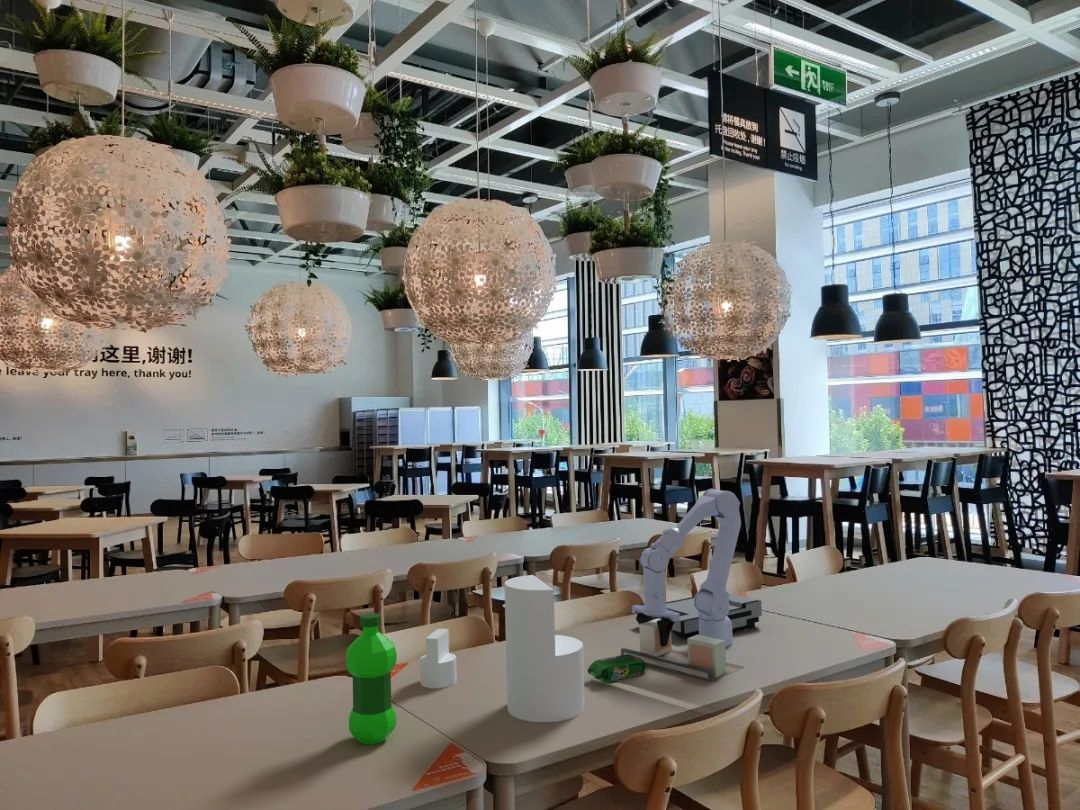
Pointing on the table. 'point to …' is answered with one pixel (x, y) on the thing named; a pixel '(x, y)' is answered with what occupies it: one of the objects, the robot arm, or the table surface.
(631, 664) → the snack package
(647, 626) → the cream carton
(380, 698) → the plastic bottle
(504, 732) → the table surface
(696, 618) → the game console
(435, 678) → the white stepped half-round block
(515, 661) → the white stepped round block
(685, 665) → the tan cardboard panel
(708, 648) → the sage carton
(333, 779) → the table surface
